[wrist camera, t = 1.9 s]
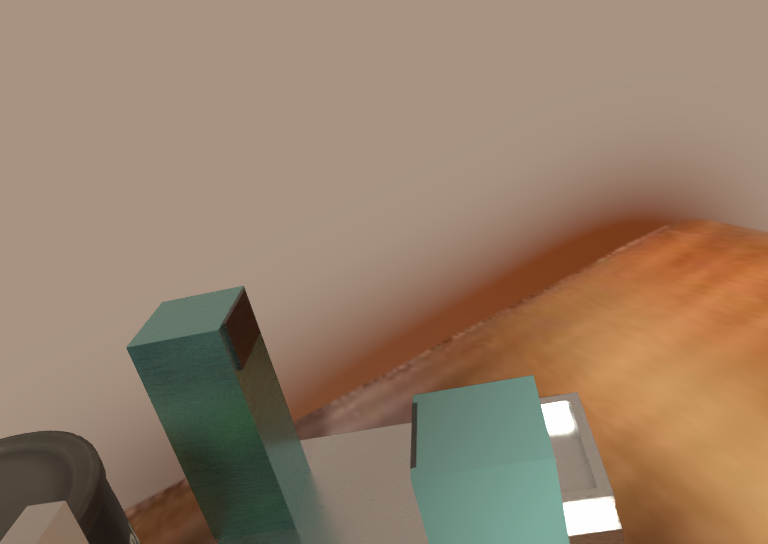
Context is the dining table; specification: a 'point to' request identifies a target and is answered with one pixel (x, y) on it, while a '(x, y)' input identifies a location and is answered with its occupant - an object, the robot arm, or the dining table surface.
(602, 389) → the dining table surface
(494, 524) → the mint green block
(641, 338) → the dining table surface
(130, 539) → the coffee can
